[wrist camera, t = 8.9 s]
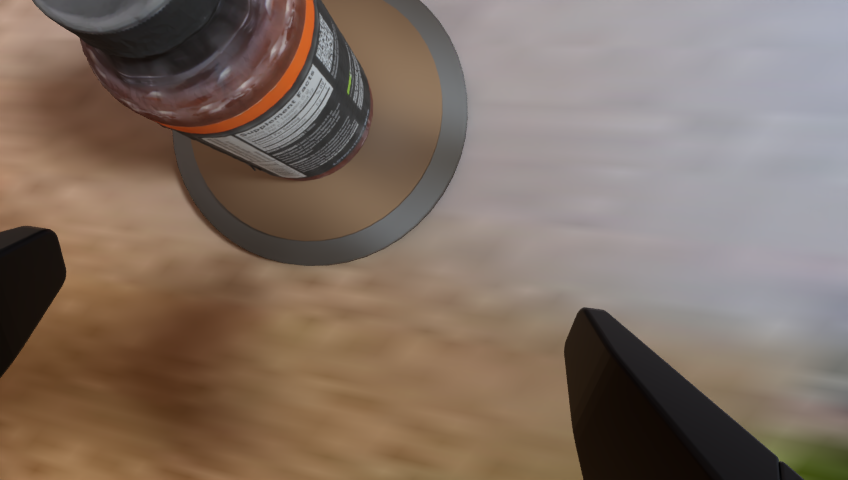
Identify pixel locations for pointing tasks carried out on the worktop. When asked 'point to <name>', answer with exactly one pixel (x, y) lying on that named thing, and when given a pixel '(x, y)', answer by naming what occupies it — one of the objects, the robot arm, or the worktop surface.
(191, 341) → the worktop surface
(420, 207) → the coaster
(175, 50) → the supplement bottle
